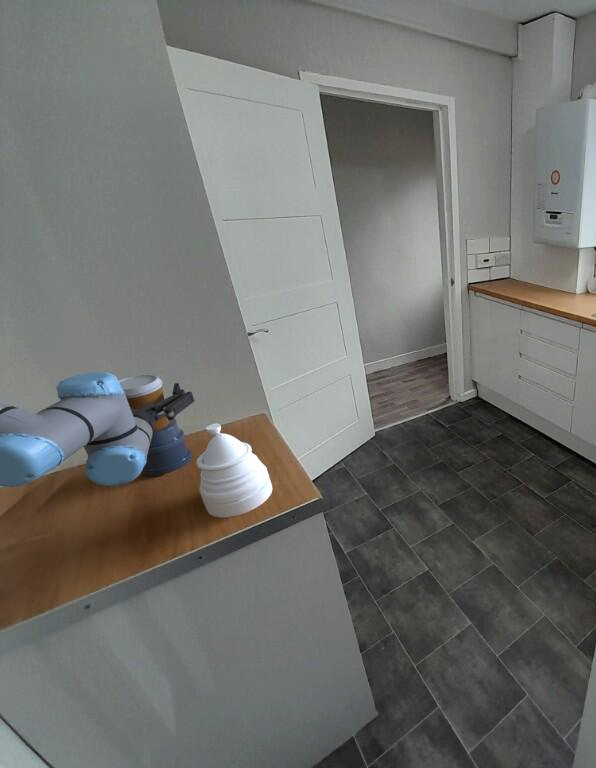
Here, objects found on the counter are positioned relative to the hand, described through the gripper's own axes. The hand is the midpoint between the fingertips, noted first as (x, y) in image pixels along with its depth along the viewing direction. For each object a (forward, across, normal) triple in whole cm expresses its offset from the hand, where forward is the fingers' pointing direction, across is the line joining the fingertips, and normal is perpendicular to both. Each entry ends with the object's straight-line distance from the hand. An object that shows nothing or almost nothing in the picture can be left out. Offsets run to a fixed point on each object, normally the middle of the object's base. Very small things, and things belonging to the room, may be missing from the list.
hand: (142, 393), depth 98 cm
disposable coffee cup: (-3, 0, -8) cm, 8 cm away
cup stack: (-3, 0, -19) cm, 19 cm away
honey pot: (-28, +15, -19) cm, 37 cm away
